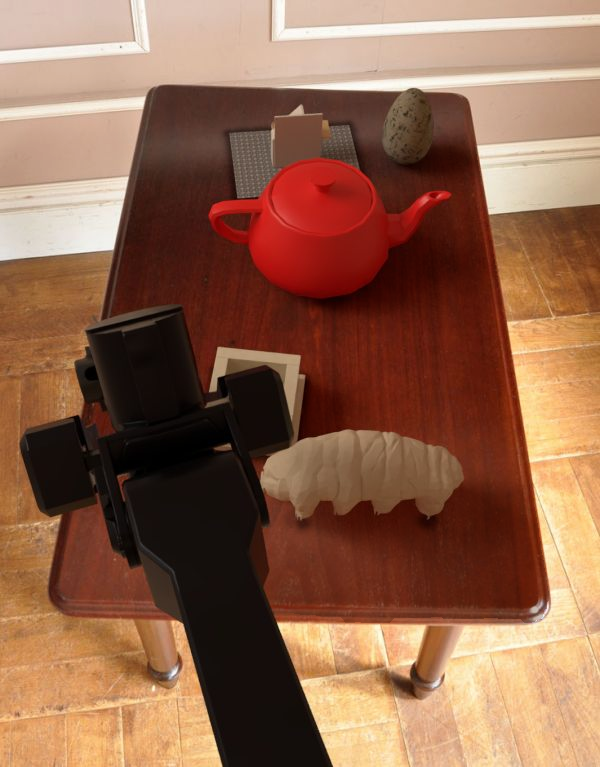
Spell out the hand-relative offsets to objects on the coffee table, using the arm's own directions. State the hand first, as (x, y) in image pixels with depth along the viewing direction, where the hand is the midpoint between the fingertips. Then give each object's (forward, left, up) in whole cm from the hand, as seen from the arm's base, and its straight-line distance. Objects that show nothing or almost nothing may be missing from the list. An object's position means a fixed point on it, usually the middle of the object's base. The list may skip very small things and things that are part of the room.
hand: (151, 414), depth 69 cm
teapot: (+29, -12, -12) cm, 34 cm away
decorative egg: (+46, -20, -12) cm, 52 cm away
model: (0, -18, -12) cm, 22 cm away
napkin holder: (+44, -7, -12) cm, 47 cm away
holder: (+8, -7, -12) cm, 16 cm away
